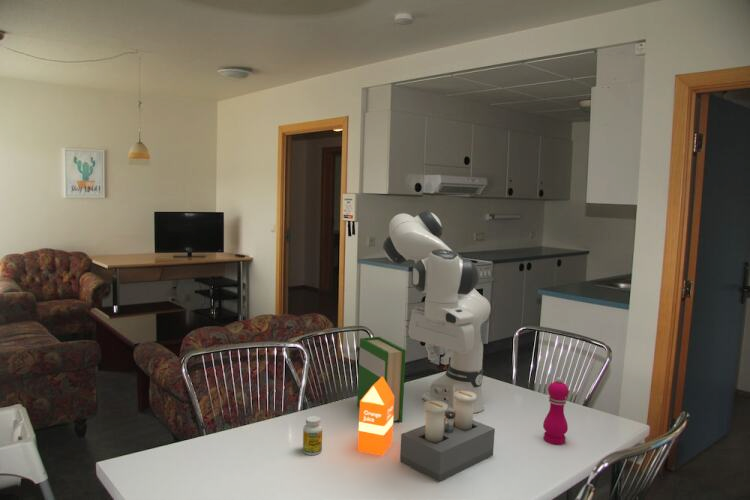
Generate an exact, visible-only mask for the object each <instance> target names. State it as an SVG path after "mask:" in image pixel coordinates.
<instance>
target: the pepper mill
mask: <svg viewBox="0 0 750 500" xmlns="http://www.w3.org/2000/svg"><path fill="white" fill-rule="evenodd" d="M569 391H570V389H569V387H568V385H567V384H566V383H564V382H563V378H562V377H559V376H557V377H556V379H555V381H553V382H551V383H550V384H549V385H548V388H547V392H548V394H549V397H548V398H549V399H548V402H549V404H550V405H549V410H548V413H547V414H546V417H545V418H544V421H543V426H542V427H543V429H544V431H545V432H544V433H543V440H544V441H545V442H547V443H549V444H552V445H563V444H565V442H566V433H567V432H568V429H569V428H568V427H569V426H568V421H567V418H566V416H565V412H564V411H565V410H564V407H565V405H566V404H567V397H568V395H569V393H570V392H569Z"/></svg>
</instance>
